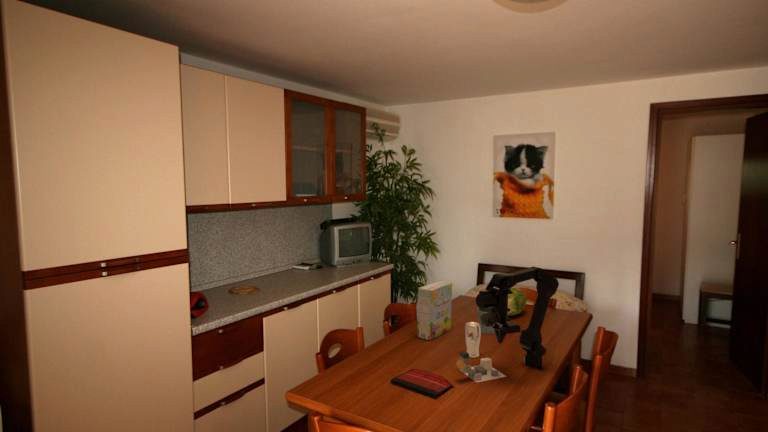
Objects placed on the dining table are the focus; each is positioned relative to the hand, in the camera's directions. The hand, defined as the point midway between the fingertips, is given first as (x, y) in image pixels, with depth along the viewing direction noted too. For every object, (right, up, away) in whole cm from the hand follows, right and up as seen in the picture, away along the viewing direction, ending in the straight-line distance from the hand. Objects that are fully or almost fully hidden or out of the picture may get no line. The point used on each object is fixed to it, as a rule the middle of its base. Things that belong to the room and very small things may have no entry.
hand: (499, 343), depth 176 cm
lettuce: (+27, -7, +80) cm, 84 cm away
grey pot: (+7, -9, +52) cm, 54 cm away
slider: (-5, -12, +4) cm, 13 cm away
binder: (-31, -15, -6) cm, 35 cm away
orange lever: (-11, -11, -4) cm, 16 cm away
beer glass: (-7, -12, +19) cm, 24 cm away
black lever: (-14, -11, +3) cm, 18 cm away
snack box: (-21, -10, +50) cm, 55 cm away
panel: (-7, -13, +1) cm, 15 cm away
